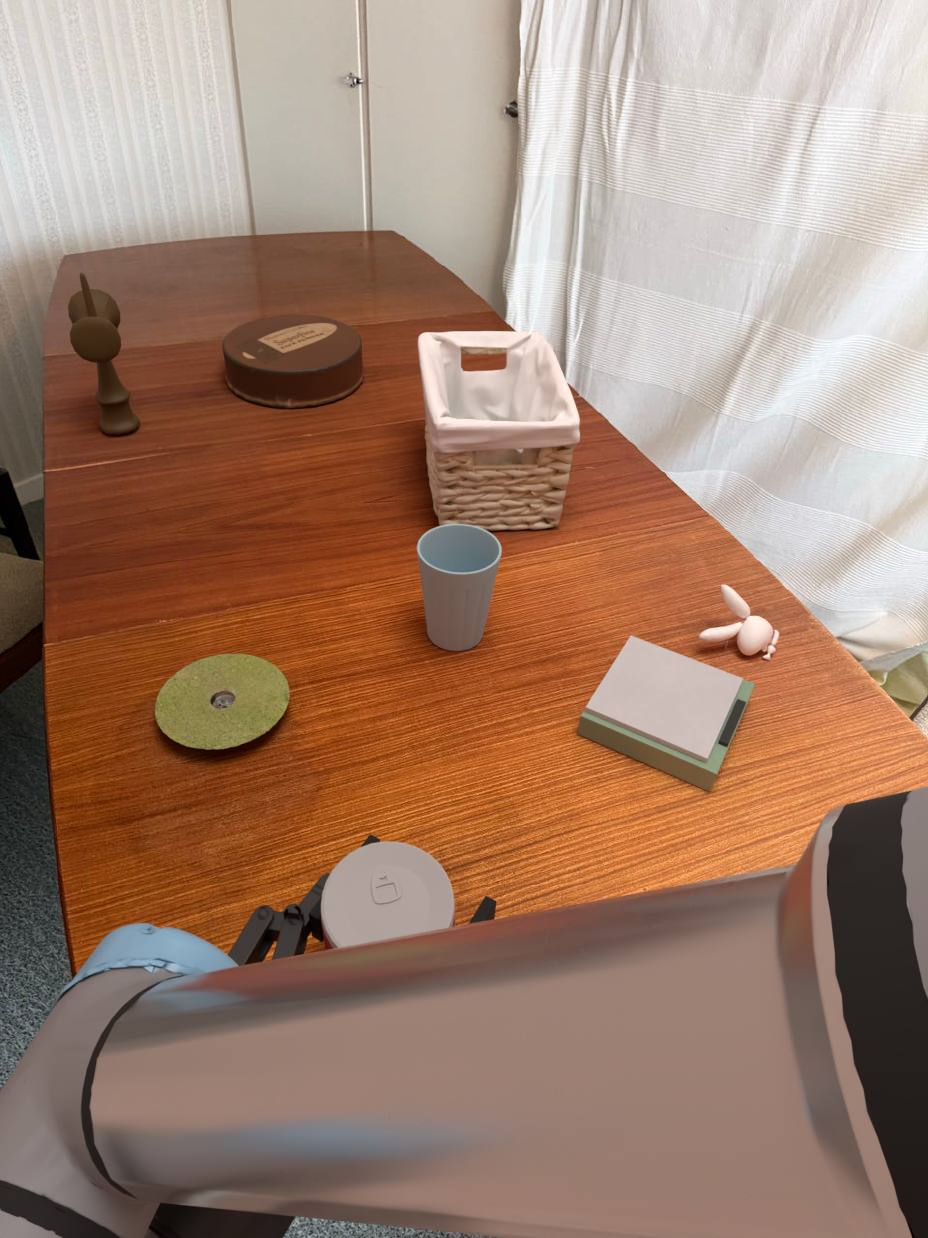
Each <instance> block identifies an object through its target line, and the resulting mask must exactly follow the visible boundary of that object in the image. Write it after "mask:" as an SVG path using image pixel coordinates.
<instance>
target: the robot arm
mask: <svg viewBox="0 0 928 1238" xmlns="http://www.w3.org/2000/svg"><path fill="white" fill-rule="evenodd" d="M377 842H381V839H380V838H379V837H376V836H375V835H374V834H371V833H370V834H369V835H368V837H367V838H366V839H365V840H364V841H363V842H362V844H361V845H360V847H363V846H366V845H369V844H372V843H377ZM330 874H331V873H329V872H327V873H325V874H323V875H322V876H320V877H319V878H318V880H317V881H316V882H315V883H314V885H313V886H312V887H311V889H310V890H309V891H308V892H307V893H306V895H305V896H304V897H303V899H302V900H301V901H300V902H299V903H290V904H288V905H287V906H286V907H284V909H283V910H282V911H279V910H274V909H273V907H272V906H270V905H268V904H262V905H259V906H257V907H256V908H255V909H254V911H253V913H252V914H251V916H250V917H249V919H248V921H247V922H246V924H245V925H244V927H243V929H242V931H241V932H240V934H239V936H238V937H237V939H236V940H235V942H234V944H233V945H232V947H231V948H230V949H229V951H228V953H225V952H224V951H223V950H222V949H220V948H219V947H217V946H216V945H214V944H212V943H211V942H209V941H207V940H205V939H203V938H202V937H200V936H197V935H195V934H193V933H190V932H188V931H185V930H183V929H180V928H177V927H172V926H163V927H157V926H156V925H154V924H152V923H149V922H140V923H139V922H137V923H136V922H135V923H130V924H126V925H125V924H124V925H123V926H119V927H118V928H116V929H114V930H112V931H111V932H110V933H108V934H106V935H105V937H104V938H103V939H102V940H101V941H100V942H99V944H98V945H97V946H96V948H95V949H94V950H93V951H92V953H91V954H90V955H89V956H88V958H87V960H86V961H85V962H84V963H83V965H82V966H81V968H80V969H79V970H78V972H77V973H76V974H75V976H74V977H73V978H72V980H71V981H69V982H68V983H67V984H66V985H65V986H64V987H63V988H61V991H60V992H59V994H58V995H57V997H56V1000H54V1002H53V1004H52V1006H51V1007H50V1010H49V1014H48V1015H47V1017H46V1019H45V1020H44V1022H43V1023H42V1025H41V1027H40V1028H39V1030H38V1031H37V1033H36V1034H35V1036H34V1038H33V1039H32V1041H31V1042H30V1044H29V1045H28V1047H27V1049H26V1050H25V1052H24V1054H23V1055H22V1057H20V1059H19V1062H18V1063H17V1065H16V1066H15V1068H14V1069H13V1071H12V1073H11V1074H10V1076H9V1077H8V1079H7V1080H6V1082H5V1083H4V1085H3V1086H2V1088H1V1090H0V1238H284V1237H285V1235H286V1233H287V1232H288V1230H289V1229H290V1227H291V1225H292V1224H293V1222H294V1220H295V1218H296V1217H298V1218H306V1219H317V1220H327V1221H336V1222H346V1223H357V1224H365V1225H376V1226H384V1227H385V1226H386V1227H396V1228H406V1229H415V1230H425V1231H434V1232H446V1233H455V1234H464V1235H474V1236H483V1237H484V1236H485V1237H493V1238H928V786H922V787H919V788H915V789H912V790H907V791H902V792H898V793H893V794H887V795H883V796H879V797H875V798H870V799H864V800H860V801H856V802H855V801H854V802H850V803H846V804H842V805H838V806H835V807H834V808H831V809H830V810H828V812H826V814H825V815H824V817H823V818H822V819H821V821H820V822H819V824H818V826H817V827H816V830H815V832H814V833H813V835H812V837H811V838H810V840H809V842H808V844H807V846H806V848H805V849H804V851H803V853H802V855H801V856H800V858H799V859H798V860H797V862H795V863H794V864H787V865H784V866H778V867H772V868H767V869H761V870H756V871H750V872H744V873H739V874H734V875H728V876H722V877H717V878H712V879H707V880H701V881H695V882H690V883H685V884H679V885H674V886H668V887H663V888H658V889H652V890H647V891H641V892H635V893H630V894H626V895H625V894H624V895H620V896H619V895H618V896H614V897H608V898H602V899H598V900H592V901H587V902H582V903H581V902H580V903H576V904H570V905H564V906H559V907H554V908H549V909H544V910H543V909H542V910H537V911H533V912H532V911H531V912H527V913H526V912H525V913H521V914H516V915H510V916H504V917H499V918H495V917H496V910H497V909H496V908H497V902H498V901H497V900H495V899H493V898H491V897H489V896H487V895H485V896H484V898H483V899H482V900H481V902H480V904H479V906H478V908H477V909H476V911H475V913H474V914H473V916H472V917H471V919H470V921H469V922H468V923H466V924H462V925H455V927H449V928H444V929H439V930H433V931H428V932H422V933H417V934H411V935H406V936H400V937H395V938H389V939H384V940H379V941H373V942H368V943H362V944H357V945H351V946H346V947H340V948H335V949H329V950H325V949H324V950H320V951H313V952H309V953H305V951H306V948H307V945H308V941H309V940H308V939H309V936H310V935H311V937H312V938H313V939H316V940H317V941H319V942H321V943H323V942H324V937H323V929H322V920H321V901H322V893H323V890H324V886H325V883H326V881H327V879H328V877H329V875H330ZM275 942H276V944H275ZM274 944H275V947H274V950H273V954H272V957H271V959H270V960H265V959H266V957H267V956H268V954H269V952H270V950H271V948H272V946H273V945H274Z"/></svg>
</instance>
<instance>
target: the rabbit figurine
mask: <svg viewBox="0 0 928 1238" xmlns="http://www.w3.org/2000/svg"><path fill="white" fill-rule="evenodd" d="M720 594H721V598H722V600H723V602H724V604H725V605H726V606H727V608H728V609H730V611H731V612H732V613H733V614H735V615H736V616H738V618H741V619H745V620H744V621H743V622H742V621H739V622H736V623H732V624H729V625H725V626H717V627H709V628H707V629H704V630H702V632H700V633H699V634H698V638H699V639H700V640H701V641H702V642H705V643H717V642H722V641H726V643H725V647H724V650H726V649H727V646H728V642H729V639H731V638H734V637H735V636H736V644H737V647H738V650H739V651H740V652H741V654H743V655H745V656H754V655H755V654H757V653H758V652H759V651H762V652H763V653H765V652H767V654H765V655H763V656H762V658H763V659H764V660H767V661H771V655H773V654H774V653H775V652H777V650H776V647H774V646H776V645H777V643H778V641H779V638H780V632H779V631H778V630H777V629H774V628H773V626H772V625H771V624H770V622H769V621H768V620H767V619H766V618H763V617H761V616H759V615H751V608H750V606H749V604H748V603H747V602H746V601H745V600H744V599H743V598H742V597H741V595H739V593H738V592H737V591H736V590H735V589H733V588H732V587H731V586H729V585H727V584H721V585H720Z"/></svg>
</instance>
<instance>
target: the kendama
mask: <svg viewBox="0 0 928 1238" xmlns="http://www.w3.org/2000/svg"><path fill="white" fill-rule="evenodd" d="M79 281H80V286H81V287H80V288H81V290H78V291H77V292H75V293H74V294H73V295H71V297H70V299H69V302H68V304H67V310H68V311H67V313H68V317H69V319H70V322H71V324H72V325H71V327H70V330H69V342H70V345H71V346H72V348H73V351H74V352H75V353H76V354H77V355H78V356H79V358H81V359H82V360H84V361H88V362H90V363H96V371H97V386H98V387H97V391H95V394H94V400H95V402H96V403H98V405H99V406H100V409H101V410H100V411H101V418H100V420H99V424H98V426H99V428H100V430H101V431H102V432H103V433H106V434H107V435H115V436H116V435H125V434H129V433H132V432H134V431H136V429H138V428H139V427H140V422H141V421H140V418H139V417H138V415H137V414H135V412H133V410H132V408H131V405H130V397H131V392H130V390H129V389H128V388H127V387H125V386H124V385H123V383H122V382H121V380H120V378H119V376H118V373H117V371H116V369H115V366H114V364H113V361H112V360H113V359H115V358H116V357H118V355H119V353H120V351H121V348H122V337H121V334H120V332H119V330H118V329H119V327H120V324H121V321H122V320H121V310H120V308H119V306H118V304H117V303H118V302H117V301H116V300H115V299H114V298H113V297H112V296H111V294H109V293H107V292H106V291H103V290H101V289H95V288H90V286H89V282H88V279H87V277H86V275H85V273H84V272H80V274H79Z"/></svg>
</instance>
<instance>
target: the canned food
mask: <svg viewBox="0 0 928 1238" xmlns="http://www.w3.org/2000/svg"><path fill="white" fill-rule="evenodd" d="M329 874H330V875H329V877H328V879H327V881H326V883H325V886H324V890H323V893H322V901H321V920H322V929H323V937H324V940H323V942H324V943H323V944H324V950H329V949H335V948H340V947H346V946H351V945H357V944H362V943H368V942H373V941H379V940H384V939H389V938H395V937H400V936H406V935H411V934H417V933H422V932H428V931H433V930H439V929H444V928H449V927H455V926H456V923H455V922H456V899H455V895H454V890H453V885H452V882H451V880H450V878H449V876H448V874H447V872H446V871H445V869H444V868H443V866H442V865H441V863H440V862H439V861H437V859H435V858H434V857H433V856H432V855H431V854H430V853H428V852H427V851H425V850H423V849H422V848H420V847H418V846H415V845H413V844H410V843H407V842H401V841H389V840H386V841H380V842H377V843H372V844H369V845H366V846H363V847H361V846H360V847H358V848H356V849H355V850H352V851H351V852H349V853H348V854H347V855H346V856H344V857H343V858H342V859H341V860H340V861H339V862H338V863H337V864H336V866H334V868H333V869H332V870H331V871H330V873H329Z"/></svg>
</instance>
